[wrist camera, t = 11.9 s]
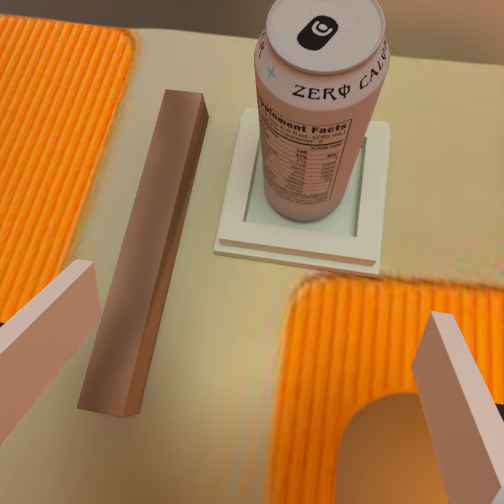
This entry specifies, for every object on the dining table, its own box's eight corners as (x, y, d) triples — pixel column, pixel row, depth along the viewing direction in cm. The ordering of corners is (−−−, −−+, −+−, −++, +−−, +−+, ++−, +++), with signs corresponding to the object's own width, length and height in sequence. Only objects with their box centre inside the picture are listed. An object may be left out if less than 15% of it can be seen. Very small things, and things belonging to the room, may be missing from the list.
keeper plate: (215, 254, 31) (210, 243, 28) (243, 120, 34) (240, 101, 32) (375, 278, 29) (383, 269, 27) (387, 136, 33) (396, 117, 30)
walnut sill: (97, 405, 28) (76, 408, 25) (175, 113, 35) (165, 89, 32) (138, 413, 28) (122, 417, 25) (208, 116, 34) (202, 93, 32)
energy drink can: (359, 182, 31) (430, 9, 16) (312, 241, 29) (342, 110, 15) (296, 140, 32) (310, -52, 18) (248, 195, 31) (221, 36, 17)
